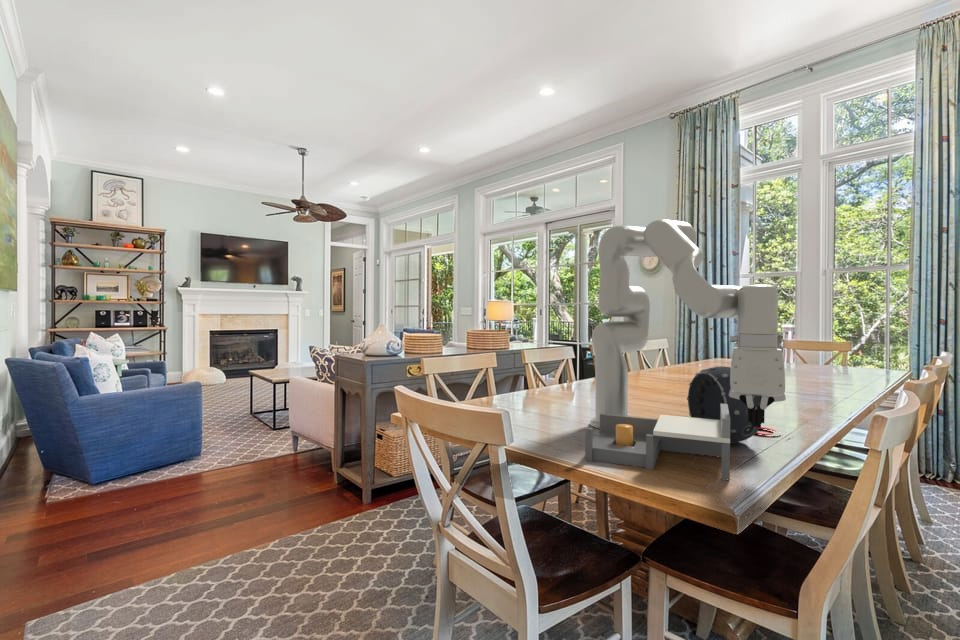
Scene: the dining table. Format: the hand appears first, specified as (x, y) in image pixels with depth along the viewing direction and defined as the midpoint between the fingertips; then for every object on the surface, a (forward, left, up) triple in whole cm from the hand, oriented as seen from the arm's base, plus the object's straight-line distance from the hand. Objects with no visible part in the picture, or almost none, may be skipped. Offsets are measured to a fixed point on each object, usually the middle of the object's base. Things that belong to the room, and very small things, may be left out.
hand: (756, 425), depth 103 cm
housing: (0, -20, -10) cm, 23 cm away
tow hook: (-37, +4, -10) cm, 39 cm away
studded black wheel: (-23, -6, -10) cm, 26 cm away
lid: (0, -13, -2) cm, 13 cm away
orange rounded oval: (0, -28, -10) cm, 30 cm away
